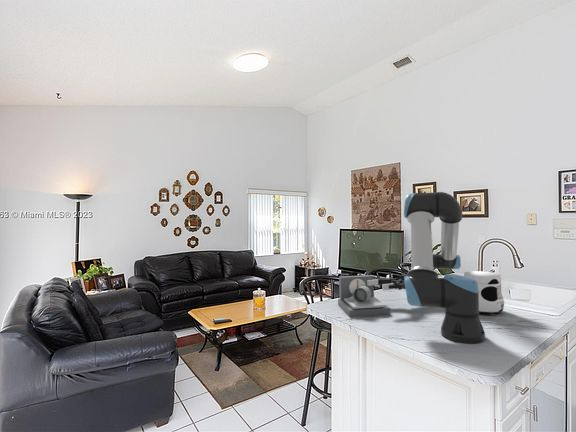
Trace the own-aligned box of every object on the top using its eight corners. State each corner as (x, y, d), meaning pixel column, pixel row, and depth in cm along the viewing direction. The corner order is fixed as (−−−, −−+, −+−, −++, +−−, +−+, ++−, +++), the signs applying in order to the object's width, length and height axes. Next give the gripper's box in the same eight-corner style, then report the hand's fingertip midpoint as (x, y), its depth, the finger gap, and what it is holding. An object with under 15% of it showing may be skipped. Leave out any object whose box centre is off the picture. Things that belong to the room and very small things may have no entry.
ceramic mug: (372, 300, 166) (371, 285, 166) (367, 304, 158) (367, 288, 159) (352, 298, 171) (351, 283, 171) (346, 302, 164) (346, 286, 164)
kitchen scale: (390, 314, 156) (389, 283, 156) (349, 316, 155) (348, 285, 154) (373, 302, 178) (373, 275, 178) (338, 304, 176) (337, 276, 176)
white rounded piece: (458, 305, 169) (457, 270, 169) (495, 306, 165) (494, 270, 165) (469, 315, 152) (467, 276, 152) (511, 317, 148) (509, 277, 148)
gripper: (426, 292, 163) (390, 297, 154) (393, 284, 185) (361, 288, 176) (425, 277, 163) (390, 281, 154) (393, 271, 185) (360, 274, 176)
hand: (374, 285), depth 165 cm, fingers open, 11 cm apart
